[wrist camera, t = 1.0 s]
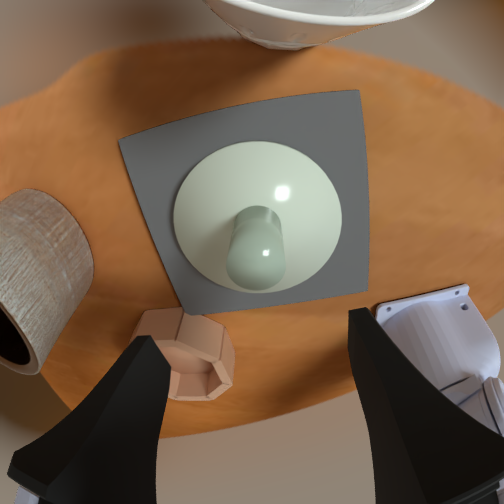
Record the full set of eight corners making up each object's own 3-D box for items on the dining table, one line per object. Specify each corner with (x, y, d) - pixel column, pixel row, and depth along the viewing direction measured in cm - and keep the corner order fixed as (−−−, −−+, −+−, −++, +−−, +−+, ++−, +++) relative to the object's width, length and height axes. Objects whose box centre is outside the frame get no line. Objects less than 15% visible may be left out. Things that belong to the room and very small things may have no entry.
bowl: (216, 303, 22) (209, 337, 19) (242, 369, 27) (240, 399, 24) (119, 312, 23) (105, 341, 20) (159, 372, 28) (152, 399, 25)
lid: (329, 127, 14) (355, 145, 10) (341, 273, 20) (358, 323, 16) (156, 162, 16) (121, 191, 12) (203, 293, 21) (191, 344, 17)
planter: (91, 191, 17) (2, 273, 9) (105, 306, 23) (62, 394, 15) (-4, 181, 17) (-80, 239, 9) (20, 281, 22) (-29, 347, 14)
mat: (355, 89, 14) (359, 90, 13) (365, 285, 21) (367, 290, 20) (122, 138, 16) (117, 140, 15) (188, 310, 23) (186, 316, 22)
